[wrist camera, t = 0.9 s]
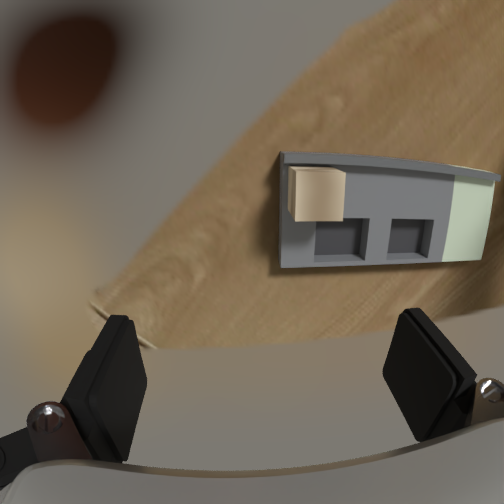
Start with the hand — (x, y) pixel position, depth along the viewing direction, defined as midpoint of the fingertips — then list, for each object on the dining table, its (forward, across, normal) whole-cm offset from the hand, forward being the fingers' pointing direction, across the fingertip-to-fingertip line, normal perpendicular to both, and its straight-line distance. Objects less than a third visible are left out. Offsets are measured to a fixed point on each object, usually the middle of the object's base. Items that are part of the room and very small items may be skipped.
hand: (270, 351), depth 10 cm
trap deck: (+21, -16, 0) cm, 27 cm away
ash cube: (+20, -6, -2) cm, 21 cm away
